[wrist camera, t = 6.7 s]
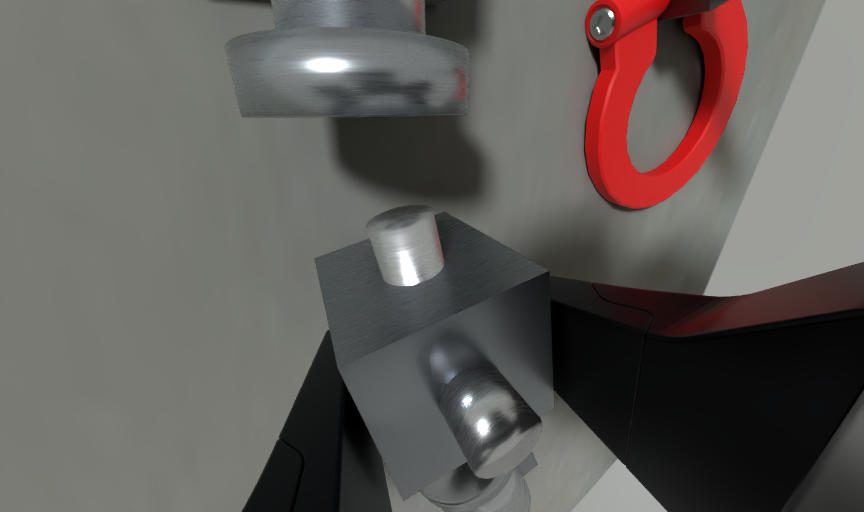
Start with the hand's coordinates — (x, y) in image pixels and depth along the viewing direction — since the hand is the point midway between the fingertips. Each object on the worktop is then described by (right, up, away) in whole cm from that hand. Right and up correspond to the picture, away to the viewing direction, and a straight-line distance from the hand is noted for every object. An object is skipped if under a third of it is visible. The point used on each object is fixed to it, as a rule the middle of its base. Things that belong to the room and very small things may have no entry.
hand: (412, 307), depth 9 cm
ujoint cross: (0, 0, +1) cm, 1 cm away
